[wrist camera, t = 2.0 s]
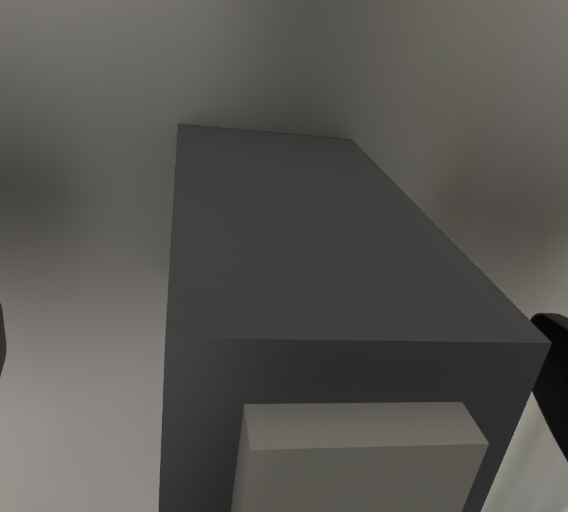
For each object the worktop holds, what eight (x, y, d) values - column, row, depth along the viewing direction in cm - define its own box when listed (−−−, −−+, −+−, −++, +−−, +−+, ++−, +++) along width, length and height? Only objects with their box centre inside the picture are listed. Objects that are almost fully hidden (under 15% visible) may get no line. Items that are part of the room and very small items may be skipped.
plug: (323, 286, 14) (471, 625, 7) (171, 281, 14) (152, 657, 6) (351, 139, 13) (588, 379, 5) (178, 123, 12) (162, 381, 4)
